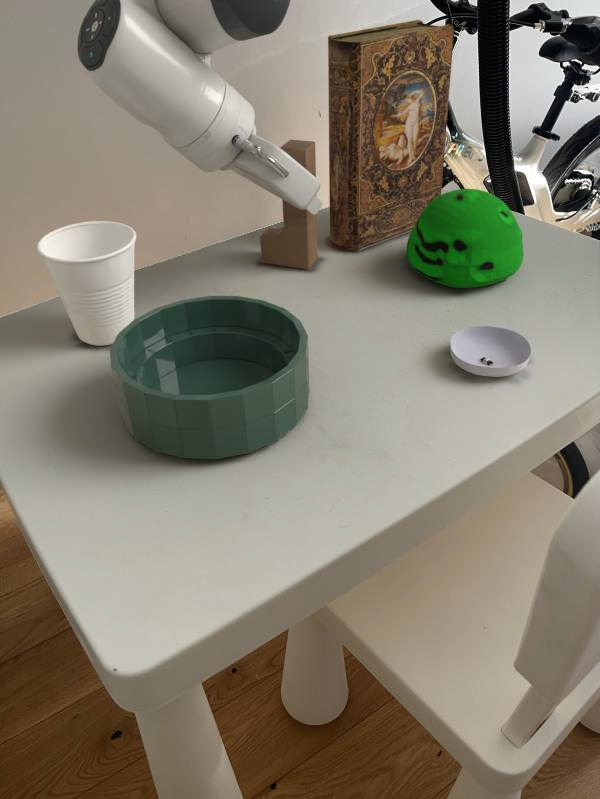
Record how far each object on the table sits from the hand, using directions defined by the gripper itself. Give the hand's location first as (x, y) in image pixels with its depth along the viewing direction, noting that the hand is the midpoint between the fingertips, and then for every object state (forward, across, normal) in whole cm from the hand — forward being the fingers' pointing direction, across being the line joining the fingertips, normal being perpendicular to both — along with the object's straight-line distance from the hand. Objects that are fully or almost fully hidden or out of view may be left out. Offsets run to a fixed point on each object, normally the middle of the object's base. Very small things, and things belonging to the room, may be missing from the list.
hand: (294, 196), depth 89 cm
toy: (+17, -14, -5) cm, 23 cm away
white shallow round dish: (+9, -31, +4) cm, 32 cm away
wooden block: (+6, 0, +7) cm, 9 cm away
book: (+16, +1, -4) cm, 17 cm away
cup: (-13, -3, +25) cm, 28 cm away
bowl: (-10, -22, +22) cm, 33 cm away
